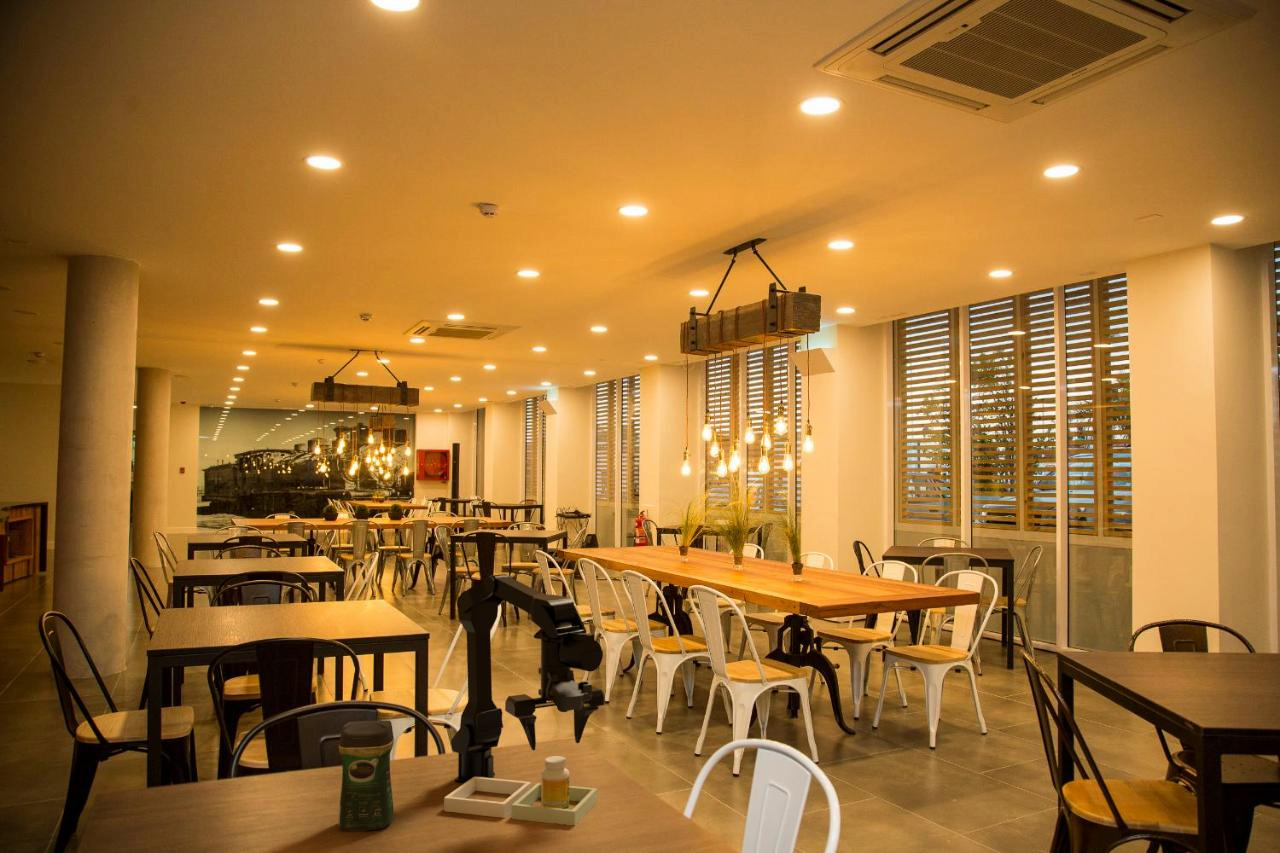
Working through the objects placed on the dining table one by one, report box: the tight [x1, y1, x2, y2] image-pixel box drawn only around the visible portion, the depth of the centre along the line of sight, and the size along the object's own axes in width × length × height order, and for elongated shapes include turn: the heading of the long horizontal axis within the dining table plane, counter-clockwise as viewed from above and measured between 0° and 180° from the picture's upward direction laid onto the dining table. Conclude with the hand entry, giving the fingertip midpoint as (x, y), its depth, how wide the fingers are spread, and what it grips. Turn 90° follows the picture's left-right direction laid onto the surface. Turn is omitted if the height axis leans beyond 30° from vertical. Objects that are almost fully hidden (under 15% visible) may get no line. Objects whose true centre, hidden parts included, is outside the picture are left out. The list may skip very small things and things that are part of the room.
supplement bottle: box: [540, 755, 570, 809], centre depth 171 cm, size 5×5×10 cm
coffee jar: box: [337, 720, 395, 832], centre depth 164 cm, size 10×8×19 cm
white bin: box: [443, 777, 532, 819], centre depth 175 cm, size 13×13×2 cm
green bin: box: [511, 782, 598, 826], centre depth 171 cm, size 13×13×2 cm
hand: (555, 746), depth 171 cm, fingers open, 9 cm apart
